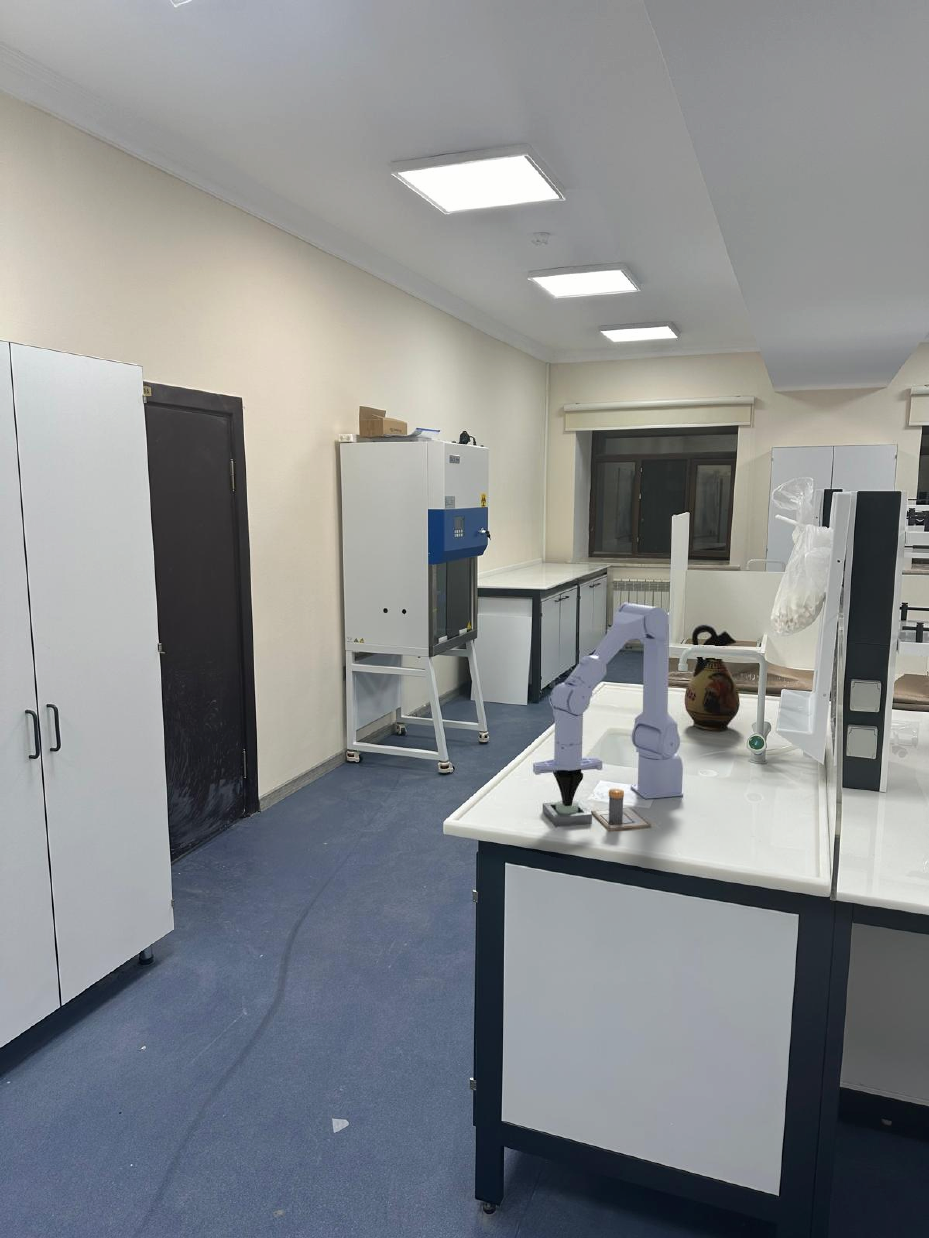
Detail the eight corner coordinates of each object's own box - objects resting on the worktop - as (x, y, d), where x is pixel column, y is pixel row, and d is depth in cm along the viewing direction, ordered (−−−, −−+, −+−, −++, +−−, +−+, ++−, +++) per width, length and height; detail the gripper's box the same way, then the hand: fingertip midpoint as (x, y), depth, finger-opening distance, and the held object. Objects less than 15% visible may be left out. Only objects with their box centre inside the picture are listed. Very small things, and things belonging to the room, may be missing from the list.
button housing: (578, 809, 175) (578, 800, 175) (591, 823, 167) (592, 814, 167) (542, 812, 173) (542, 803, 173) (554, 826, 165) (555, 817, 165)
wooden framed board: (630, 809, 175) (630, 806, 175) (651, 827, 165) (651, 824, 165) (591, 812, 173) (591, 810, 173) (609, 831, 163) (609, 828, 163)
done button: (573, 811, 173) (573, 799, 173) (581, 819, 168) (581, 807, 168) (552, 812, 172) (552, 801, 172) (560, 821, 167) (560, 809, 167)
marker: (622, 819, 168) (622, 788, 167) (623, 824, 165) (624, 793, 164) (607, 818, 168) (608, 788, 167) (609, 824, 165) (609, 793, 164)
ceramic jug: (736, 721, 245) (741, 623, 240) (740, 735, 230) (745, 631, 226) (677, 717, 249) (681, 620, 245) (678, 731, 234) (682, 628, 230)
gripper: (594, 733, 173) (592, 794, 175) (528, 737, 170) (528, 800, 172) (607, 743, 166) (605, 806, 168) (539, 747, 163) (538, 812, 165)
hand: (567, 804), depth 170 cm, fingers closed, pressing on done button
